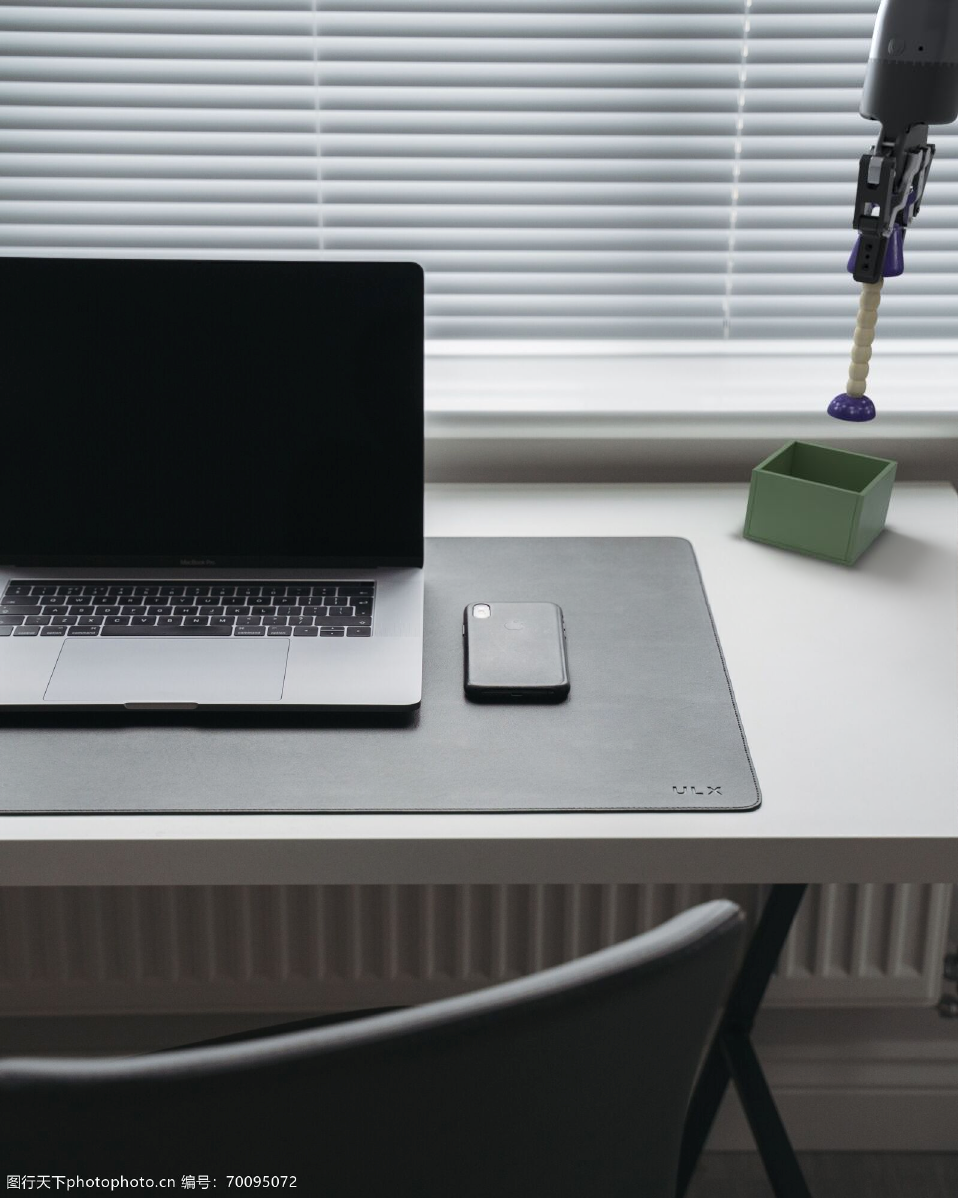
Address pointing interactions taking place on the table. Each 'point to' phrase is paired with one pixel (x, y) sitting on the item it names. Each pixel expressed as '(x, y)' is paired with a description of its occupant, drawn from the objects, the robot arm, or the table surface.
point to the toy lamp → (866, 336)
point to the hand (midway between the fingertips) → (875, 275)
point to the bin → (819, 501)
